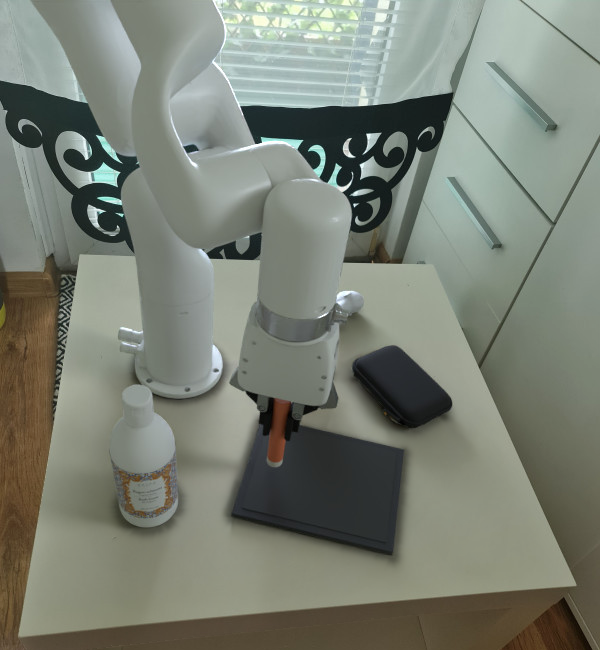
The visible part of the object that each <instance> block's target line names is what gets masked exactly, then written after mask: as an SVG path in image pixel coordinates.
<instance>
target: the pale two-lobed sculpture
mask: <svg viewBox="0 0 600 650" xmlns="http://www.w3.org/2000/svg"><path fill="white" fill-rule="evenodd" d="M336 303H338V306H339V307H342V309H346V310H349V313H348V317H351V316H352V315H353V314H354V313H357V312H359V311H360V310H362V308H363V307H364V305H365V299H364V296H363V295H362V294H361V293H360V292H359V291H356V290H343V291H340V292H339V293H337V299H336ZM342 325H343V323H341V322H339V327H341V326H342Z"/></svg>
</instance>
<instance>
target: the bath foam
mask: <svg viewBox="0 0 600 650" xmlns="http://www.w3.org/2000/svg"><path fill="white" fill-rule="evenodd" d="M121 404H122V411H123V416H122V417H120V419H119V420H118V421H117V422H116V423H115V425H114V426H113V428H112V430H111V433H110V437H109V443H108V454H109V459H110V464H111V468H112V469H111V470H112V475H113V480H114V486H115V491H116V496H117V502H118V507H119V510H120V512H121V515H122V517H123V518H124V519H125V520H126V521H127V522H128V523H130V524H131V525H133V526H136V527H139V528H153V527H158V526H160V525H162V524H164V523H166V522H168V521H169V520H170V519H171V518H172V517H173V515H174V514H175V513H176V511H177V509H178V504H179V490H178V487H179V485H178V469H177V466H178V465H177V446H176V439H175V436H174V432H173V430H172V428H171V426H170V424H169V423H168V422H167V421H166V420H165V418H163V417H162V416H161V415H159V414H158V413H156V412H155V410H154V399H153V393H152V392H151V391H150V389H149V388H148V387H146V386H144V385H142V384H132V385H129V386H127V387H126V388H124V390H123V391H122V392H121Z"/></svg>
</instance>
